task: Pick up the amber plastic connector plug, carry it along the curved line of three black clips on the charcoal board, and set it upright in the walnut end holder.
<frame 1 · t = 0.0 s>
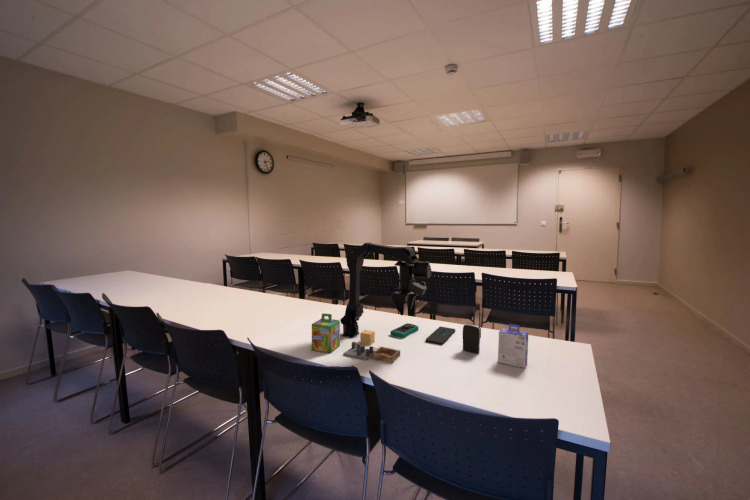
hand: (406, 312, 140), 15 cm above the table, tool pointing down, fingers open, 9 cm apart
digital multimeter: (404, 333, 157), on the table
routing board: (359, 354, 132), on the table
end holder: (386, 357, 129), on the table
connector plug: (367, 342, 144), on the table
smart home device: (441, 337, 151), on the table
ink cartridge box: (512, 363, 124), on the table
chalk box: (326, 348, 139), on the table
battery charger: (471, 351, 134), on the table
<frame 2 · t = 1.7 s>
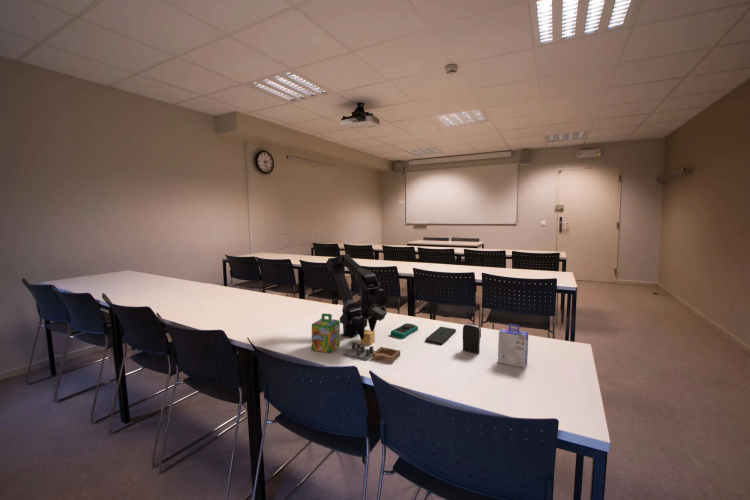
hand: (367, 335, 144), 3 cm above the table, tool pointing down, fingers open, 9 cm apart
nothing on the table moved.
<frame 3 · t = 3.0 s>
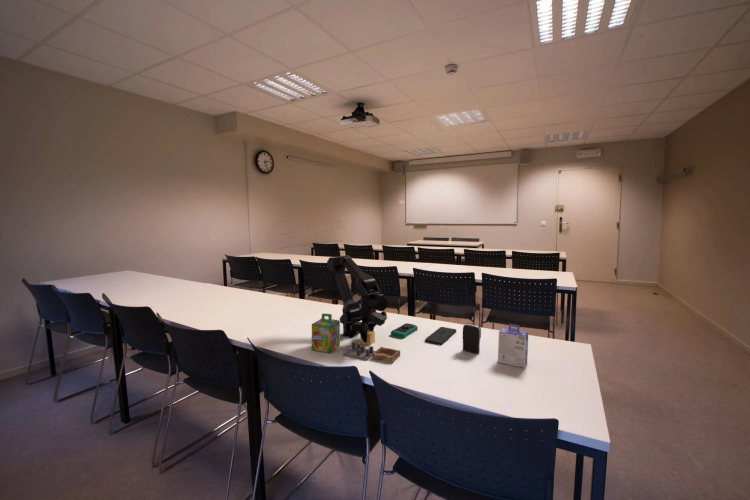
hand: (367, 340, 144), 1 cm above the table, tool pointing down, fingers closed on connector plug, 4 cm apart
connector plug: (367, 342, 144), on the table, touching gripper
everything else where it was.
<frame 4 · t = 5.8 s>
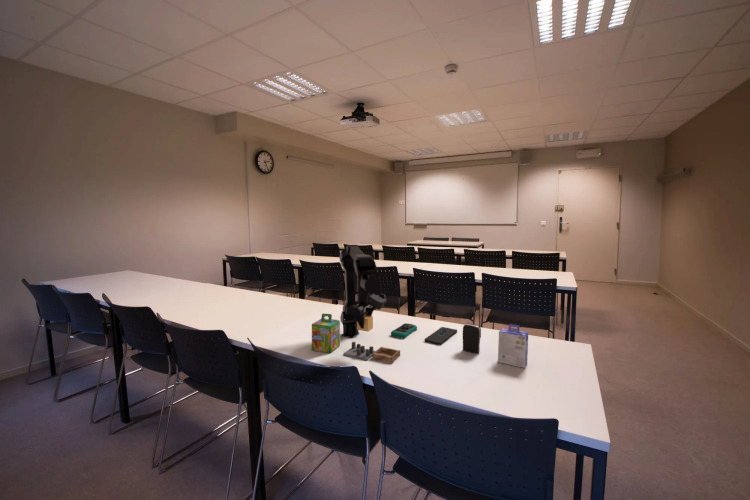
hand: (364, 326, 129), 12 cm above the table, tool pointing down, fingers closed on connector plug, 4 cm apart
connector plug: (365, 329, 129), point 11 cm above the table, touching gripper
everything else where it was.
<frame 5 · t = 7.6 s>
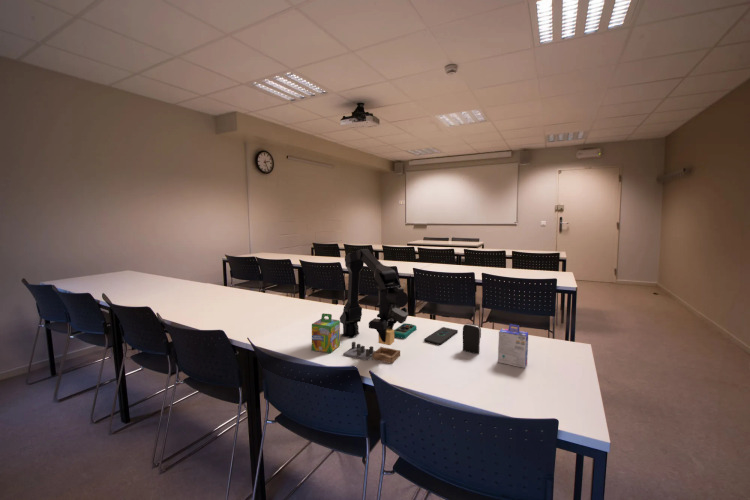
hand: (386, 339, 128), 7 cm above the table, tool pointing down, fingers closed on connector plug, 4 cm apart
connector plug: (386, 342, 129), point 6 cm above the table, touching gripper
everything else where it was.
when the fingers open (3 cm above the table, at t = 8.8 s): connector plug drops 2 cm, resting on end holder.
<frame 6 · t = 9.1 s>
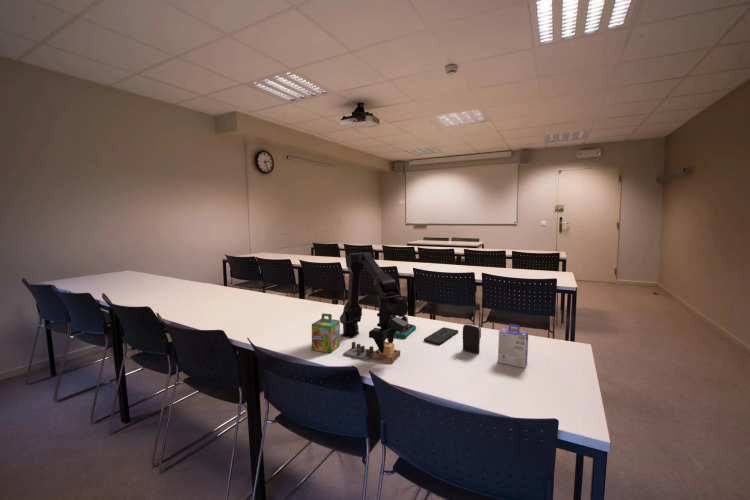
hand: (386, 348, 129), 3 cm above the table, tool pointing down, fingers open, 8 cm apart
connector plug: (386, 356, 129), resting on end holder
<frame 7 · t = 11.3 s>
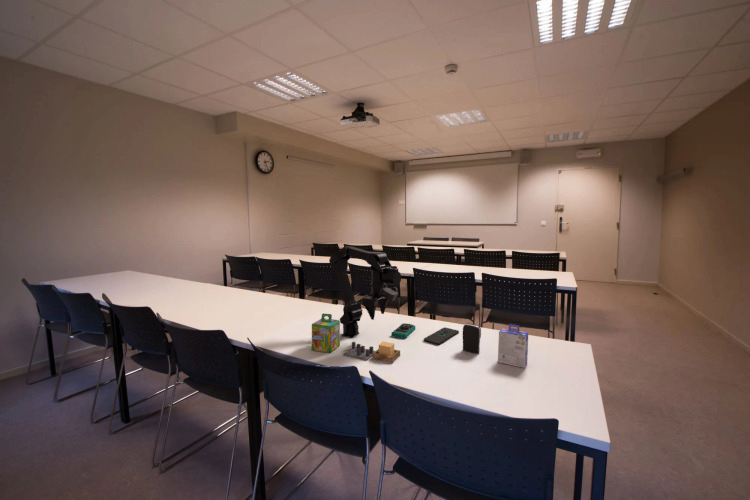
hand: (377, 316, 142), 12 cm above the table, tool pointing down, fingers open, 9 cm apart
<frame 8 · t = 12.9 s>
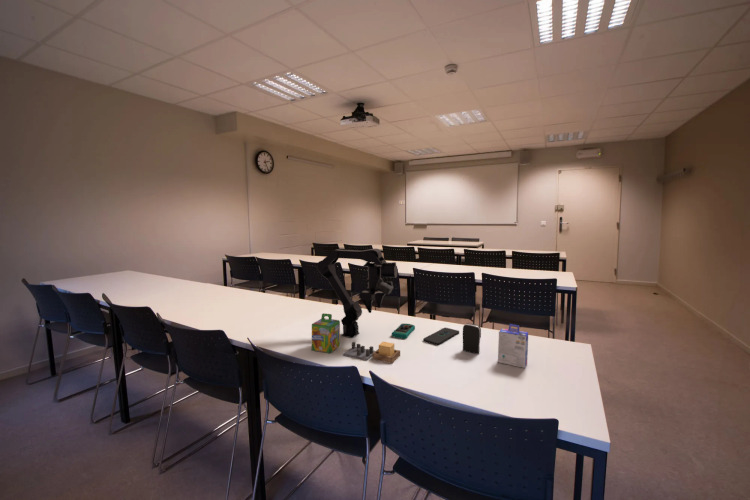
hand: (374, 310, 149), 13 cm above the table, tool pointing down, fingers open, 9 cm apart
at the end: connector plug 0.0 cm off-centre on the end holder, point 0.4 cm above the end holder's base; connector plug tilted 0°; the gripper is holding nothing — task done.
